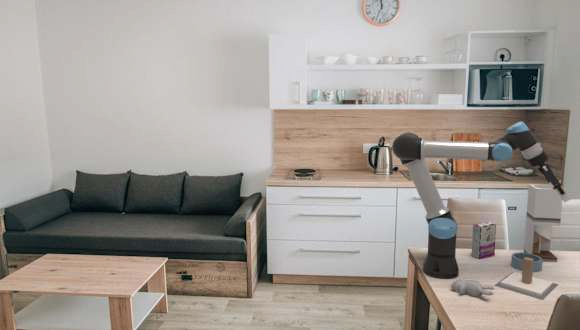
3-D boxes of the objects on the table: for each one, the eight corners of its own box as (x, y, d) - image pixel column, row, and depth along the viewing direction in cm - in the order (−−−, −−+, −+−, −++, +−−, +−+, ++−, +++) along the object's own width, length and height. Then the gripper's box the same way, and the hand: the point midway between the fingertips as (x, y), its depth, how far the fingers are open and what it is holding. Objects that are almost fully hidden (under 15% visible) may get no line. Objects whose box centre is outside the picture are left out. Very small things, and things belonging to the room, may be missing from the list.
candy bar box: (486, 252, 216) (488, 220, 214) (494, 255, 212) (496, 223, 210) (470, 256, 211) (472, 223, 209) (479, 259, 207) (481, 226, 204)
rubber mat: (542, 301, 163) (542, 300, 163) (493, 287, 176) (494, 285, 176) (558, 286, 177) (558, 284, 177) (512, 273, 190) (512, 272, 190)
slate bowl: (522, 274, 189) (523, 262, 188) (505, 264, 200) (506, 253, 200) (547, 273, 190) (548, 261, 189) (529, 263, 202) (530, 251, 201)
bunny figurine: (455, 275, 179) (494, 280, 169) (456, 287, 179) (495, 292, 170) (448, 283, 171) (488, 288, 162) (449, 295, 171) (489, 301, 162)
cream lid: (540, 296, 166) (542, 269, 164) (500, 284, 177) (502, 258, 175) (552, 285, 176) (555, 258, 174) (513, 274, 187) (515, 249, 185)
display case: (530, 260, 205) (536, 188, 200) (523, 252, 215) (528, 184, 210) (556, 262, 203) (563, 189, 197) (548, 254, 213) (554, 185, 208)
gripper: (548, 153, 170) (580, 199, 169) (538, 147, 193) (566, 187, 191) (530, 163, 173) (561, 208, 172) (522, 156, 196) (549, 195, 194)
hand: (564, 197), depth 181 cm, fingers open, 13 cm apart
